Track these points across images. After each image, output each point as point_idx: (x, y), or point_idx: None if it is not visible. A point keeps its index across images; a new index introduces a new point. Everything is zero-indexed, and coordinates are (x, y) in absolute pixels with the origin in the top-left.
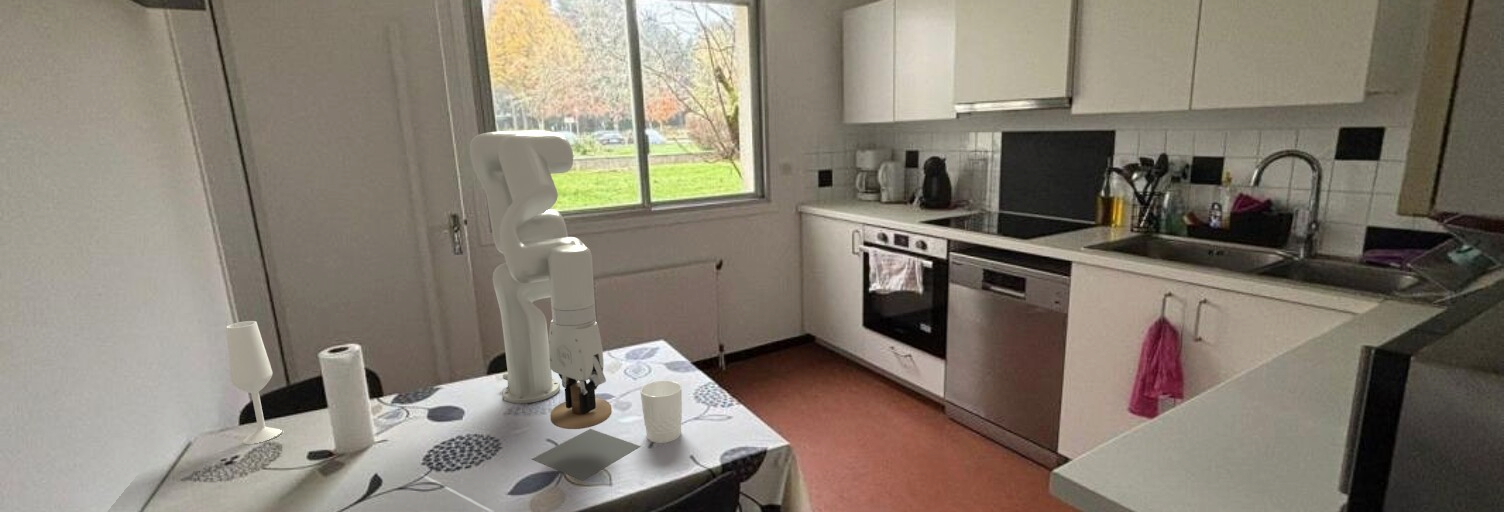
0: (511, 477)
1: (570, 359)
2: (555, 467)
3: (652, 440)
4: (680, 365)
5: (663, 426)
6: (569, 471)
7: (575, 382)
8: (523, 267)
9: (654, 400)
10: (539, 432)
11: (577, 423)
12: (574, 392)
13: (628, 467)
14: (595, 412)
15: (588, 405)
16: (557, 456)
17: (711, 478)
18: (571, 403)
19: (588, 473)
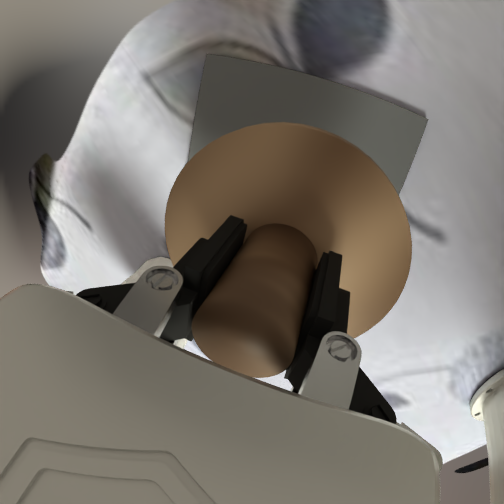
0: (423, 29)
1: (15, 482)
2: (327, 85)
3: (170, 261)
4: None
5: (126, 280)
6: (271, 77)
7: (289, 373)
8: None
9: None
10: (473, 266)
11: (222, 151)
12: (244, 288)
13: (153, 152)
14: None
15: (194, 245)
16: (361, 143)
17: (36, 172)
18: (316, 272)
19: (213, 85)
